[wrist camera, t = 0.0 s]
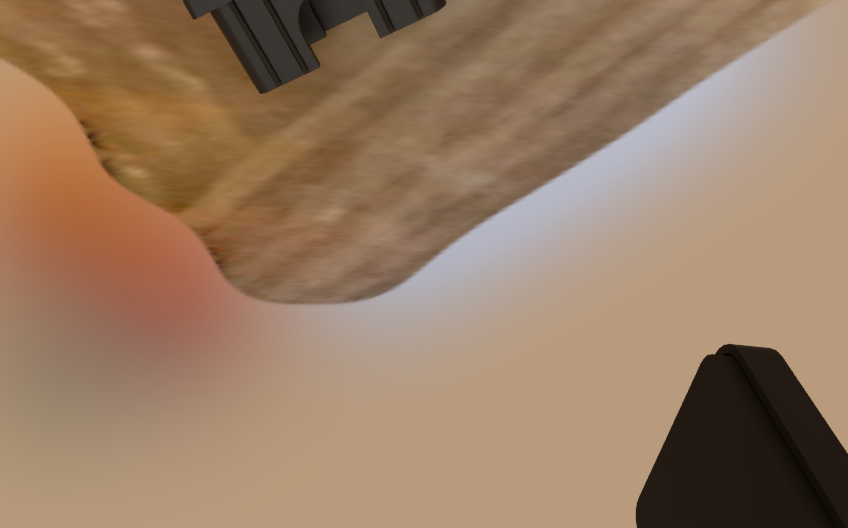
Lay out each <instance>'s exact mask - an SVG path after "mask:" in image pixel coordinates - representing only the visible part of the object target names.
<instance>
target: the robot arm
mask: <svg viewBox="0 0 848 528" xmlns="http://www.w3.org/2000/svg"><path fill="white" fill-rule="evenodd" d="M636 525H637V528H848V453H847V452H846V450H845V449H844V448H843V446H842V445H841V443H840V442H839V440H838V439H837V437H836V436H835V434H834V433H833V431H832V430H831V428H830V427H829V425H828V424H827V422H826V421H825V419H824V418H823V417H822V415H821V414H820V412H819V411H818V409H817V408H816V406H815V405H814V403H813V402H812V400H811V399H810V397H809V396H808V394H807V393H806V391H805V390H804V388H803V387H802V385H801V384H800V382H799V381H798V379H797V378H796V376H795V375H794V373H793V372H792V371H791V369H790V368H789V366H788V364H787V363H786V361H785V360H784V358H783V357H782V356H781V355H780V354H779V353H778V352H777V351H776V350H774V349H771V348H763V347H754V346H753V347H752V346H744V345H733V344H727V345H723V346H722V347H721V348H719V349H718V351H717V352H716V354H715V355H714V354H711V355H707V356H706V357H705V358H704V359H703V361H702V363H701V364H700V366H699V369H698V371H697V373H696V375H695V377H694V379H693V381H692V384H691V386H690V388H689V390H688V393H687V394H686V397H685V399H684V401H683V403H682V406H681V407H680V410H679V412H678V414H677V416H676V418H675V420H674V423H673V425H672V427H671V429H670V431H669V433H668V436H667V438H666V440H665V442H664V444H663V447H662V449H661V451H660V453H659V455H658V457H657V459H656V462H655V464H654V466H653V468H652V470H651V473H650V475H649V477H648V479H647V481H646V483H645V485H644V488H643V490H642V492H641V494H640V496H639V499H638V502H637V507H636Z"/></svg>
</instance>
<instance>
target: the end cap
mask: <svg viewBox="0 0 848 528" xmlns="http://www.w3.org/2000/svg"><path fill="white" fill-rule="evenodd" d="M183 2H184V4H185V6H186V8H187V10H188V11H189V13H190V15H191V16H192V18H193V19H197V18H199V17H201V16H203V15H205V14H207V13H209V12H210V13H211V15H212V16H213V18H214V19H215V21H216V23H217V24H218V26H219V28H220V29H221V31H222V33H223V34H224V36H225V38H226V39H227V41H228V43H229V44H230V46H231V47H232V49H233V51H234V52H235V54H236V56H237V57H238V59H239V61H240V62H241V64H242V66H243V67H244V69H245V71H246V72H247V74H248V75H249V77H250V79H251V80H252V82H253V84H254V85H255V87H256V88H257V90H258V92H259V93H260V94H262V93H266V92H269V91H271V90H273V89H275V88H277V87H279V86H281V85H284V84H286V83H288V82H290V81H292V80H294V79H296V78H298V77H300V76H302V75H305V74H307V73H309V72H311V71H313V70H315V69H317V68H319V67H320V63H319V61H318V59H317V57H316V55H315V54H314V52H313V50H312V48H311V46H310V44H312V43H314V42H317V41H319V40H321V39H323V38H325V37H326V35H327V34H326V32H325V31H327V30H329V29H331V28H333V27H335V26H337V25H339V24H341V23H343V22H346V21H348V20H350V19H352V18H354V17H356V16H358V15H360V14H362V13H364V12H366V11H367V12H368V14H369V16H370V18H371V20H372V22H373V24H374V26H375V28H376V30H377V32H378V34H379V36H380V38H382V37H384V36H387V35H389V34H391V33H393V32H395V31H397V30H399V29H401V28H403V27H405V26H408V25H410V24H412V23H414V22H416V21H418V20H420V19H422V18H424V17H426V16H429V15H431V14H433V13H435V12H437V11H438V10H440V9H441V8H443V7H444V6H445V5H446V0H183Z"/></svg>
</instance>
